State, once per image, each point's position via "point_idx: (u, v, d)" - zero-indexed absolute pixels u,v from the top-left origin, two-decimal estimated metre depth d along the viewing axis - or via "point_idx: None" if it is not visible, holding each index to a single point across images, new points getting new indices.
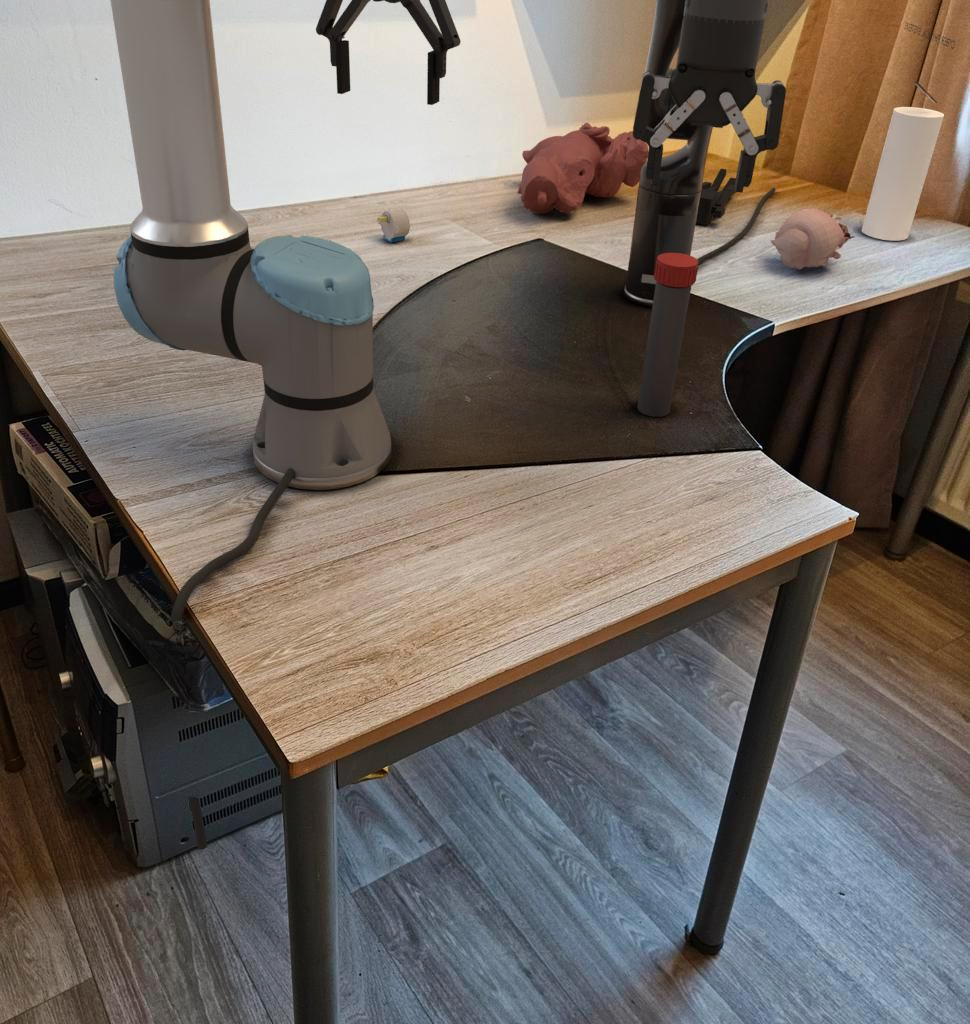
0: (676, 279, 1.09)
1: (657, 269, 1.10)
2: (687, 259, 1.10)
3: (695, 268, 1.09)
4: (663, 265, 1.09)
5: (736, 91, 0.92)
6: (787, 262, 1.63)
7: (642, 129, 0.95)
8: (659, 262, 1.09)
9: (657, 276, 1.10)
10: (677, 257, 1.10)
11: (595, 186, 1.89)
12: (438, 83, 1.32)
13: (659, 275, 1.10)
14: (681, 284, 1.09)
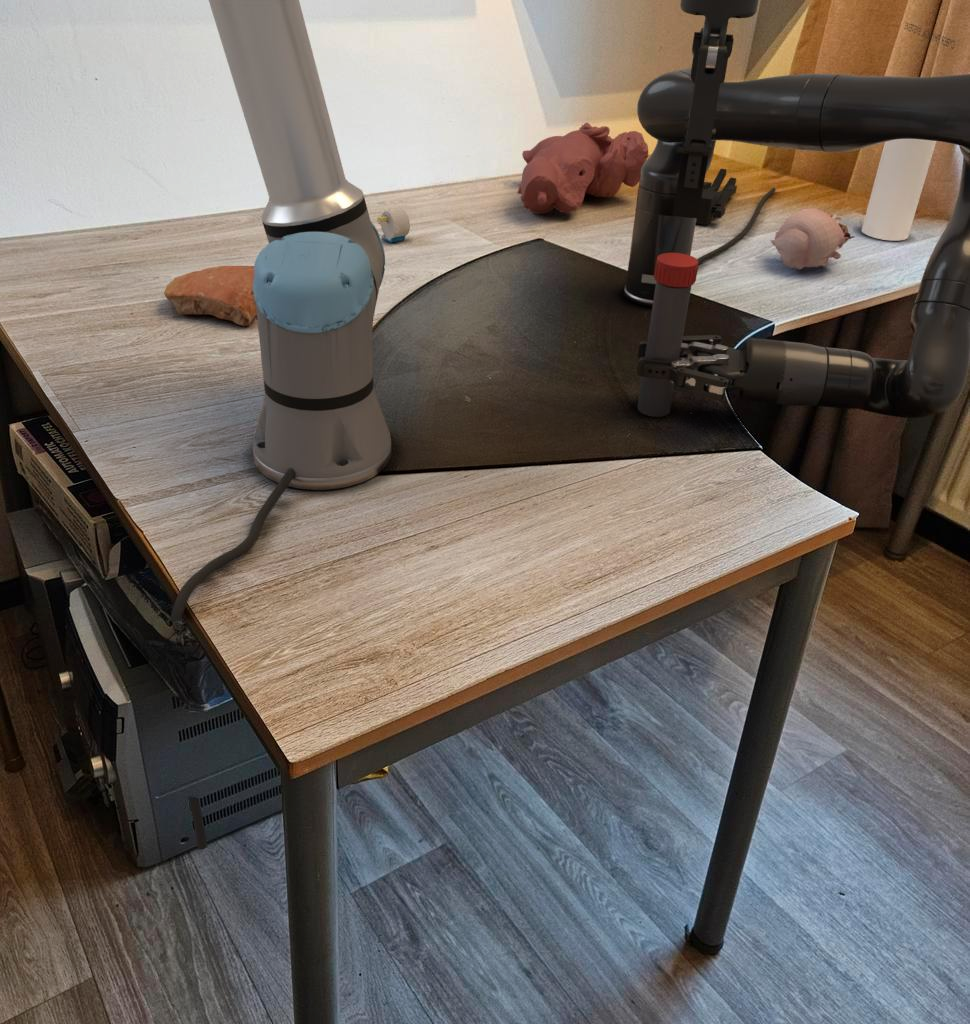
0: (676, 279, 1.09)
1: (657, 269, 1.10)
2: (687, 259, 1.10)
3: (695, 268, 1.09)
4: (663, 265, 1.09)
5: None
6: (787, 262, 1.63)
7: None
8: (659, 262, 1.09)
9: (657, 276, 1.10)
10: (677, 257, 1.10)
11: (595, 186, 1.89)
12: None
13: (659, 275, 1.10)
14: (681, 284, 1.09)
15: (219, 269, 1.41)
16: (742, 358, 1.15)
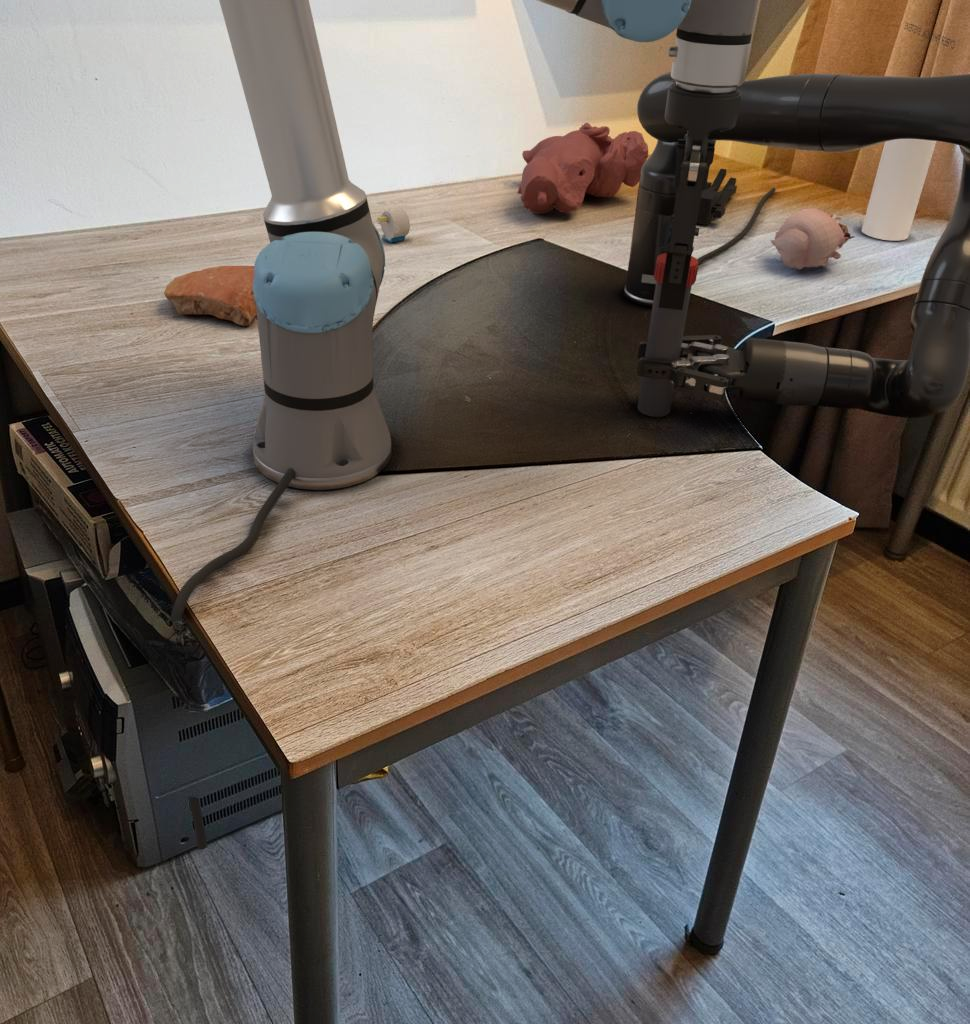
0: None
1: (657, 269, 1.10)
2: None
3: (695, 268, 1.09)
4: (663, 265, 1.09)
5: None
6: (787, 262, 1.63)
7: None
8: (659, 262, 1.09)
9: (657, 276, 1.10)
10: None
11: (595, 186, 1.89)
12: None
13: (659, 275, 1.10)
14: None
15: (219, 269, 1.41)
16: (742, 358, 1.15)
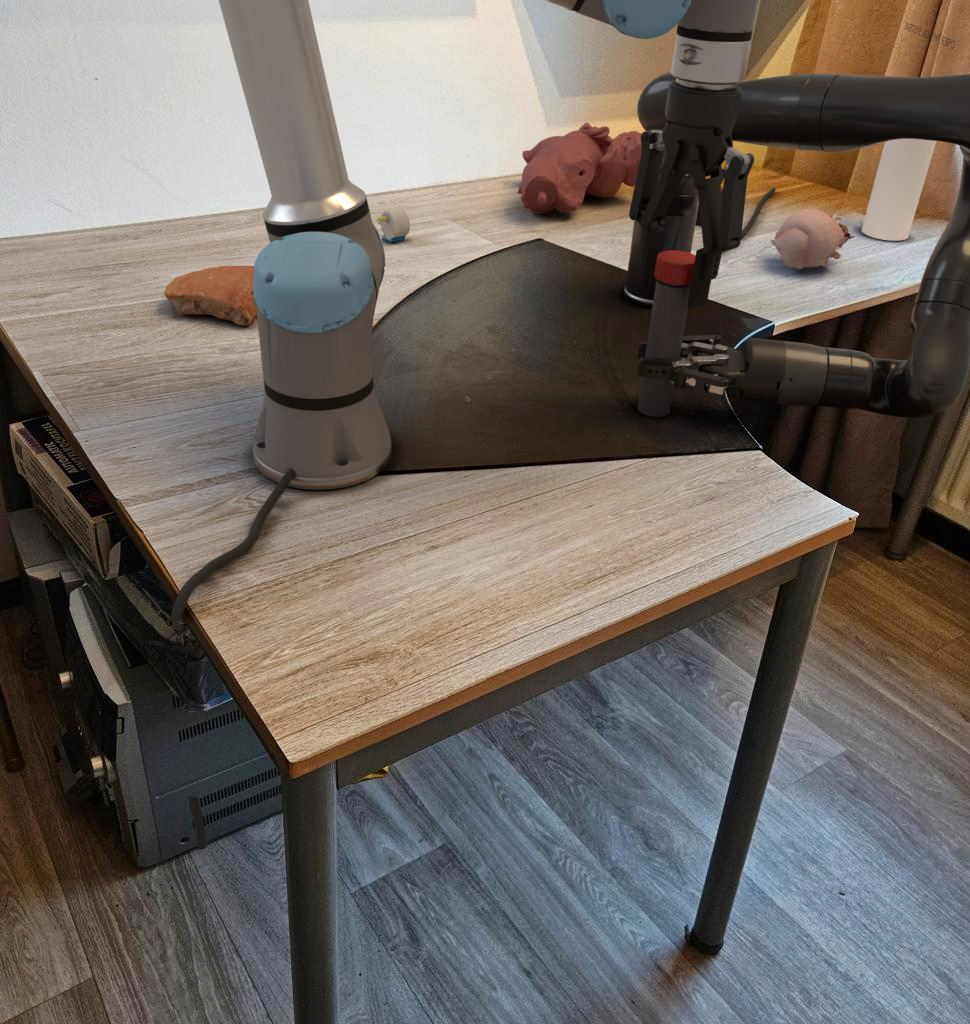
0: None
1: (686, 273, 1.09)
2: (674, 253, 1.11)
3: None
4: None
5: None
6: (787, 262, 1.63)
7: None
8: (690, 265, 1.08)
9: (688, 279, 1.09)
10: (672, 256, 1.10)
11: (595, 186, 1.89)
12: None
13: (690, 276, 1.09)
14: None
15: (219, 269, 1.41)
16: (742, 358, 1.15)
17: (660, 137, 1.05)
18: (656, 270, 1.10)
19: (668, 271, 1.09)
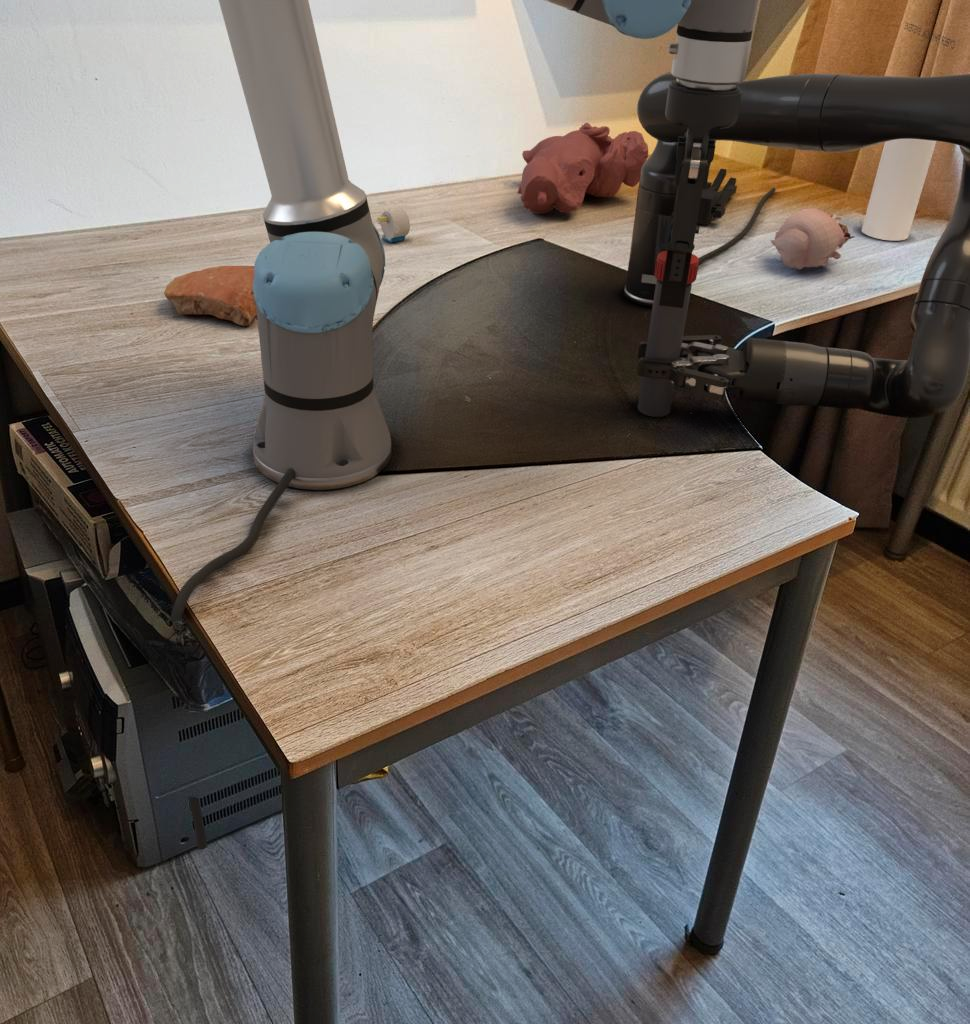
0: None
1: None
2: None
3: None
4: (694, 265, 1.09)
5: None
6: (787, 262, 1.63)
7: None
8: (691, 265, 1.08)
9: (688, 279, 1.09)
10: None
11: (595, 186, 1.89)
12: None
13: (690, 276, 1.09)
14: None
15: (219, 269, 1.41)
16: (742, 358, 1.15)
17: None
18: (656, 270, 1.10)
19: None
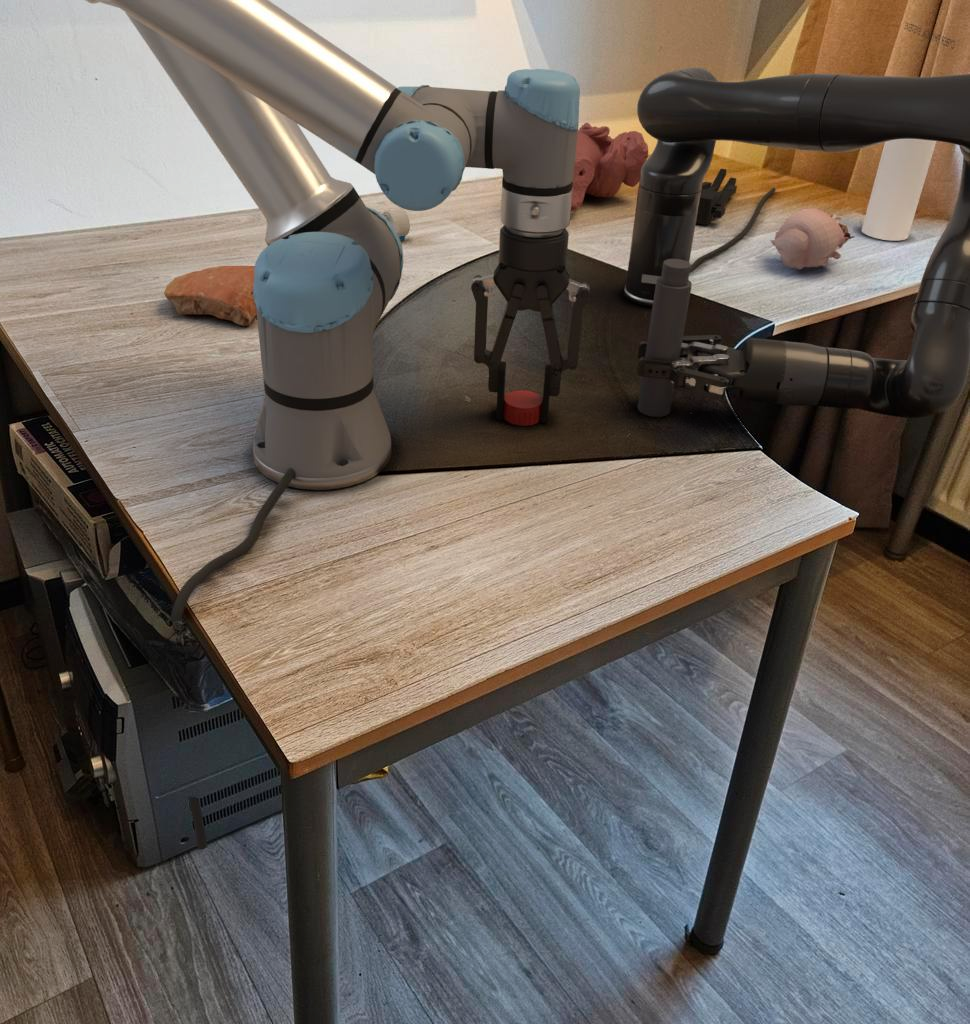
0: None
1: None
2: (514, 400, 1.16)
3: None
4: None
5: None
6: (787, 262, 1.63)
7: None
8: (538, 395, 1.17)
9: None
10: (524, 401, 1.16)
11: (595, 186, 1.89)
12: (497, 400, 1.16)
13: None
14: None
15: (219, 269, 1.41)
16: (742, 358, 1.15)
17: (490, 283, 1.08)
18: (528, 419, 1.15)
19: (540, 411, 1.16)
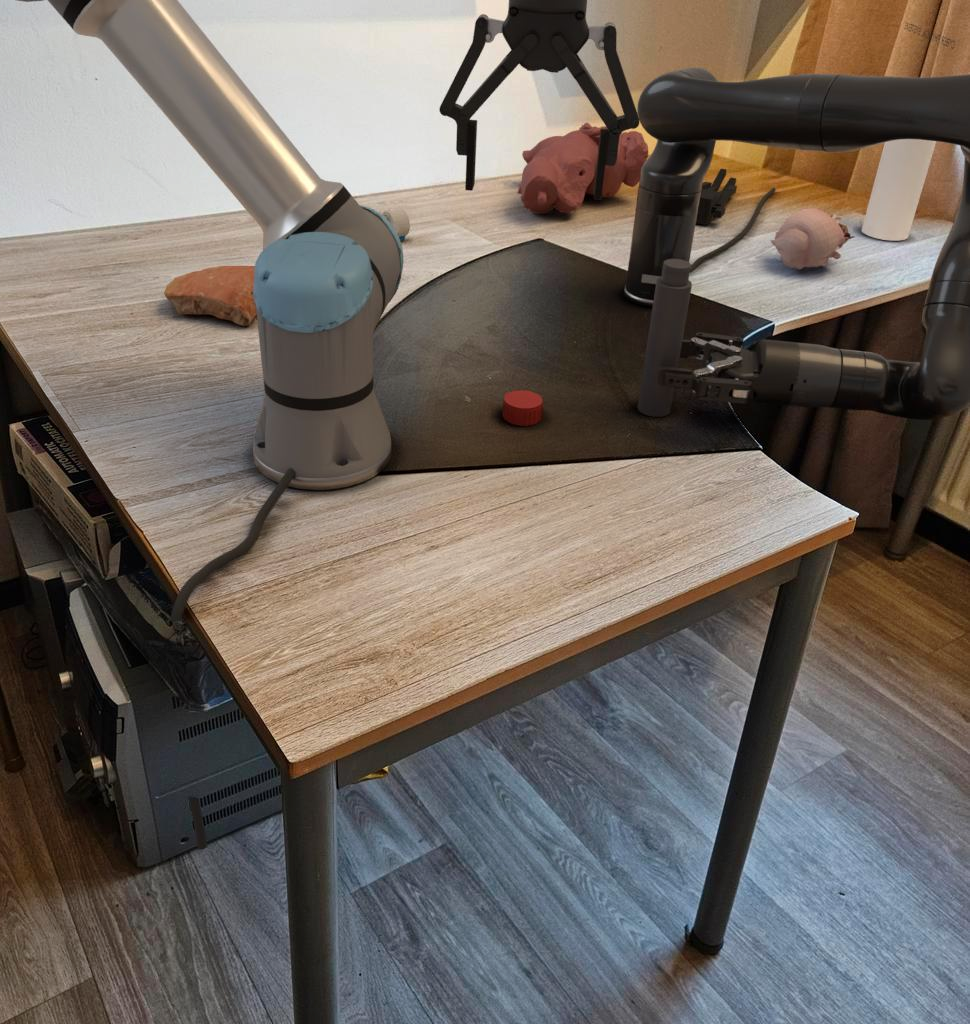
0: None
1: None
2: (514, 400, 1.16)
3: None
4: None
5: None
6: (787, 262, 1.63)
7: None
8: (538, 395, 1.17)
9: None
10: (524, 401, 1.16)
11: None
12: None
13: None
14: None
15: (219, 269, 1.41)
16: (755, 360, 1.15)
17: (497, 28, 0.93)
18: (528, 419, 1.15)
19: (540, 411, 1.16)
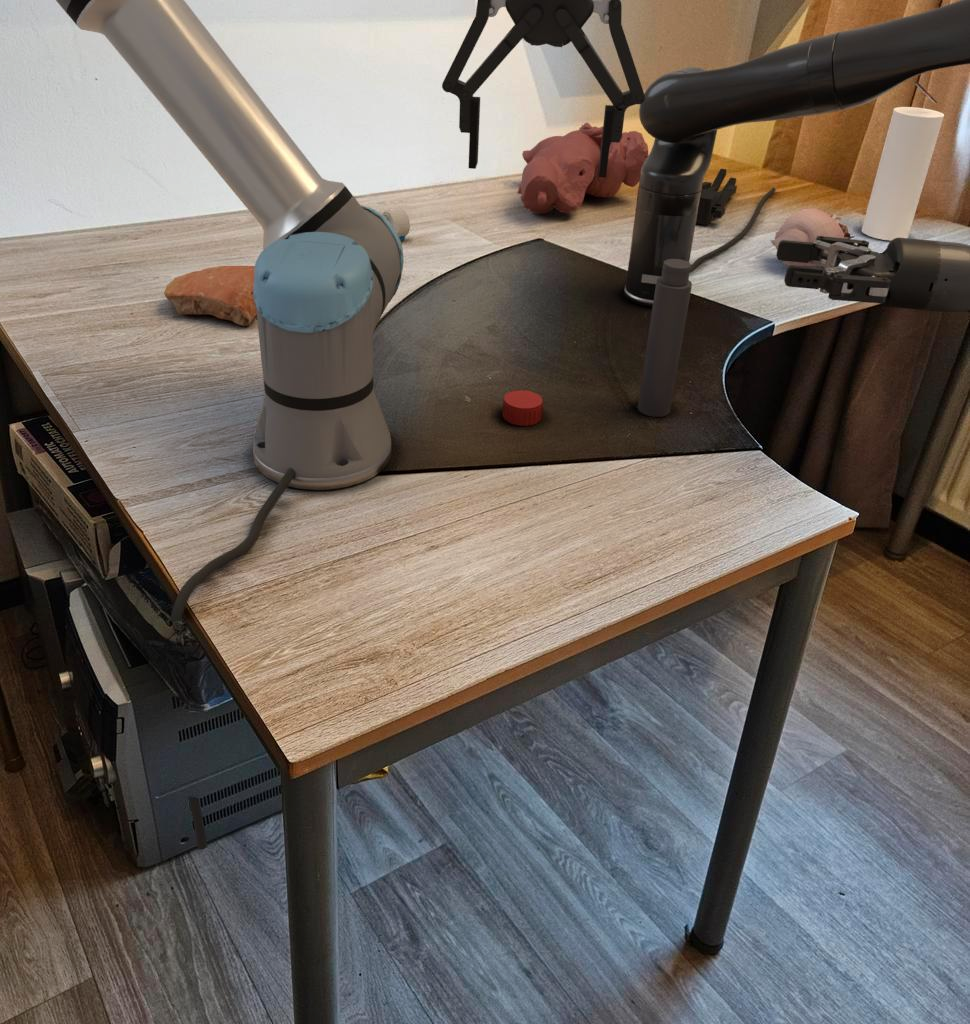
0: None
1: None
2: (514, 400, 1.16)
3: None
4: None
5: None
6: (787, 262, 1.63)
7: None
8: (538, 395, 1.17)
9: None
10: (524, 401, 1.16)
11: (595, 186, 1.89)
12: None
13: None
14: None
15: (219, 269, 1.41)
16: (888, 260, 1.06)
17: (500, 2, 0.92)
18: (528, 419, 1.15)
19: (540, 411, 1.16)
